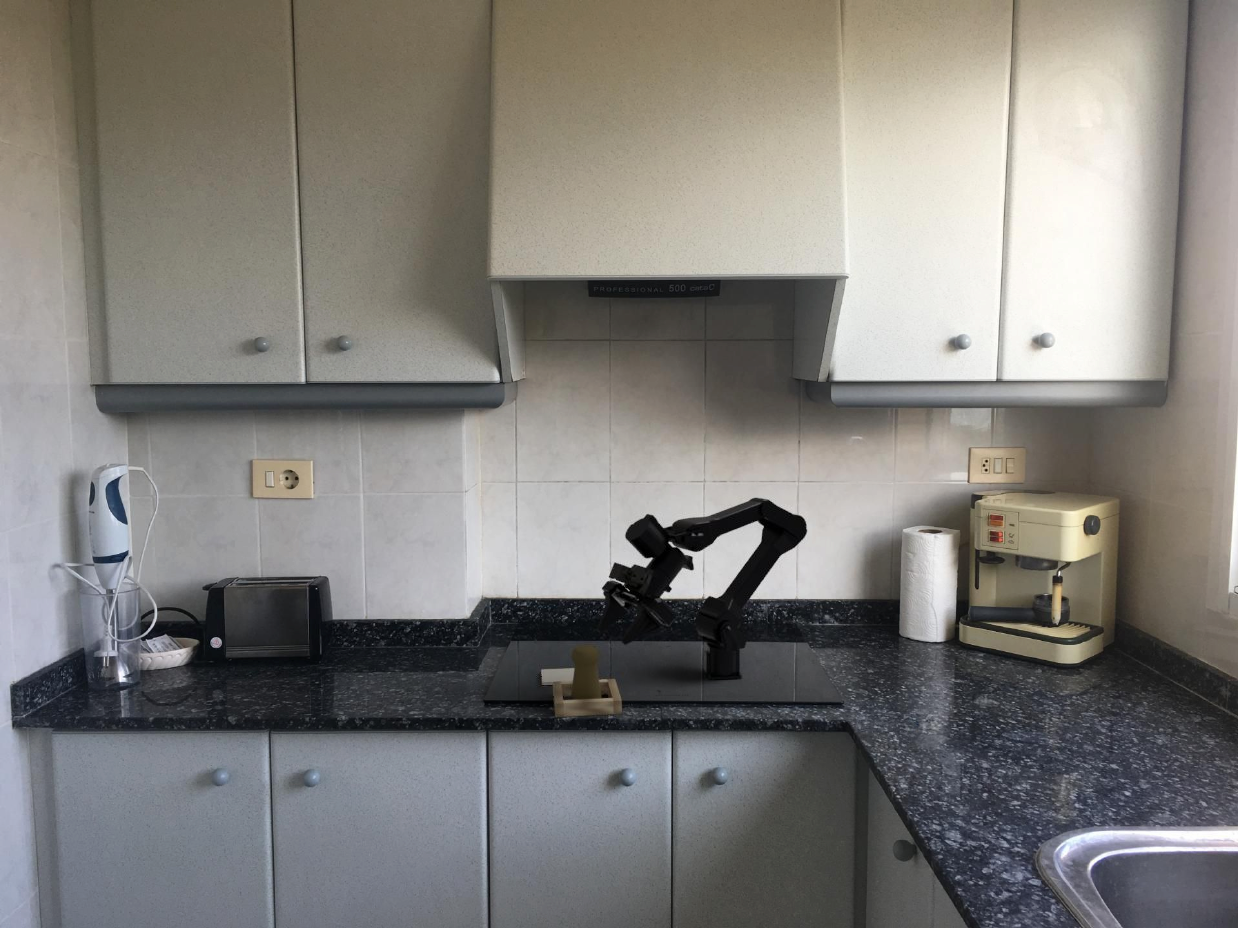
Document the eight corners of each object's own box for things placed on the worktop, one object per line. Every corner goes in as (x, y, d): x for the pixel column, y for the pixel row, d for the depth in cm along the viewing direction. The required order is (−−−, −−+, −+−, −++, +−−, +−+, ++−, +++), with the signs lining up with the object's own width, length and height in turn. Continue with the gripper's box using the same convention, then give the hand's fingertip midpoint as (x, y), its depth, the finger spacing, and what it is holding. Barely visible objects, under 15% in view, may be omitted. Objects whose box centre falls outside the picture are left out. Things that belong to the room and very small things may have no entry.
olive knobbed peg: (601, 709, 165) (601, 651, 164) (569, 709, 165) (568, 651, 164) (603, 698, 171) (602, 641, 170) (571, 698, 171) (570, 641, 170)
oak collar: (614, 691, 175) (614, 678, 175) (621, 713, 163) (621, 700, 163) (553, 694, 174) (552, 681, 173) (555, 716, 162) (555, 703, 162)
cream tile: (579, 671, 187) (579, 667, 187) (582, 684, 179) (582, 680, 179) (541, 673, 186) (541, 669, 186) (542, 686, 178) (542, 682, 178)
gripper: (610, 540, 179) (561, 601, 175) (661, 554, 163) (608, 623, 159) (643, 574, 184) (597, 635, 179) (696, 592, 168) (646, 659, 163)
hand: (610, 637), depth 170 cm, fingers open, 9 cm apart
